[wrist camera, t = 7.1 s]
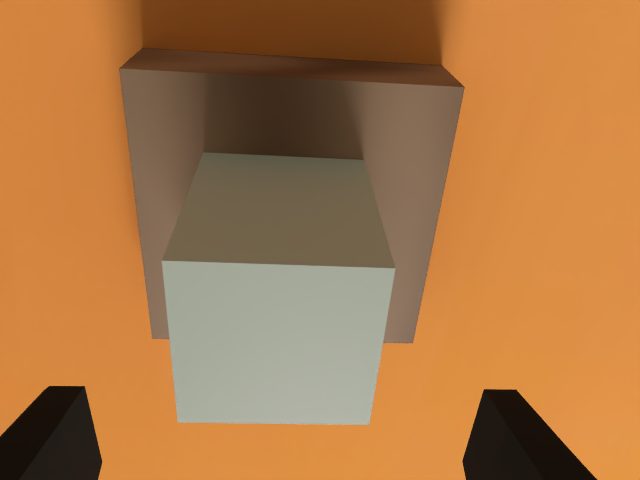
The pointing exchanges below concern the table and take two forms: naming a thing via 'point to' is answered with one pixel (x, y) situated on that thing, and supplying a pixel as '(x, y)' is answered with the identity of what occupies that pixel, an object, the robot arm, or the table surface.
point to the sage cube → (277, 291)
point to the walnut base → (293, 144)
